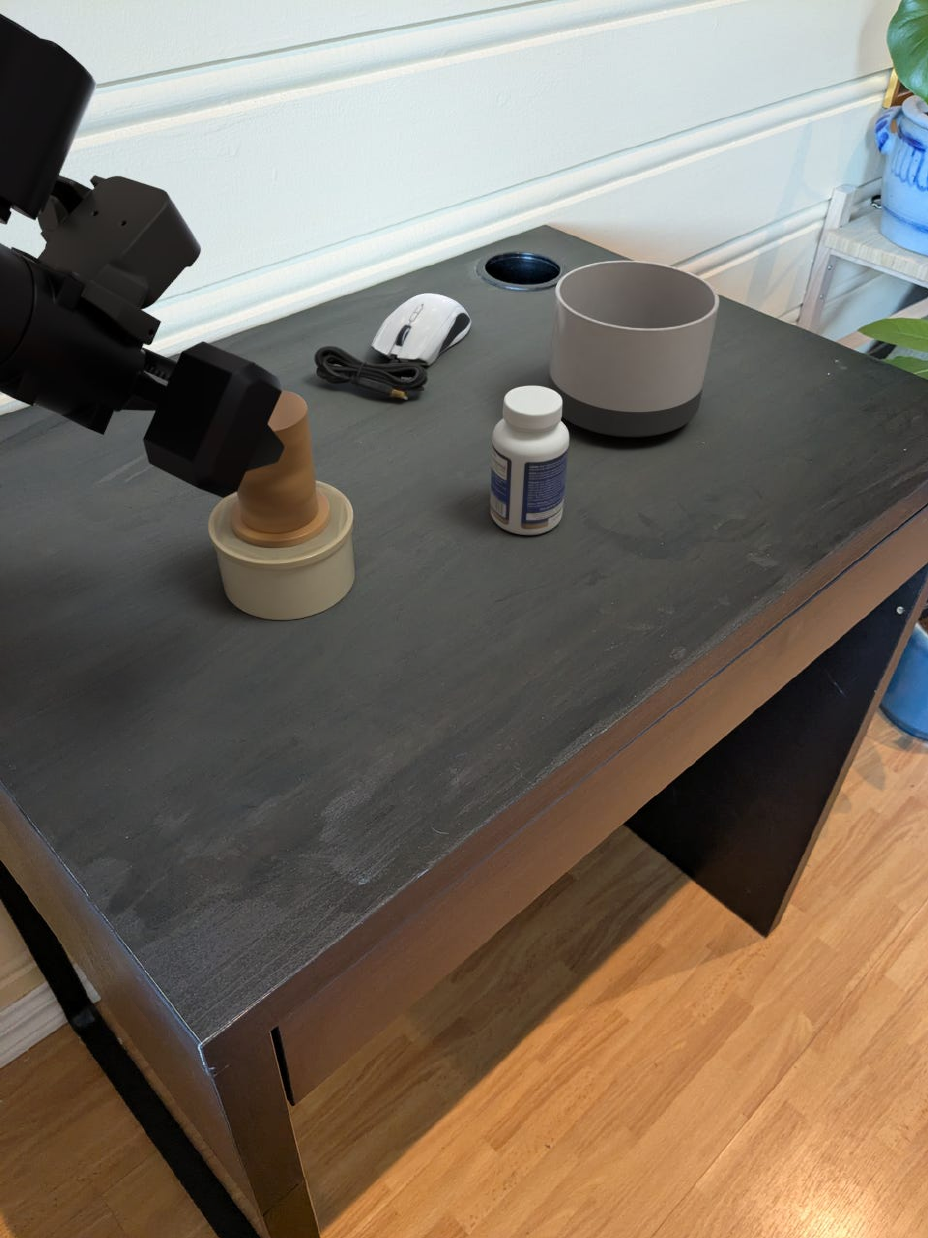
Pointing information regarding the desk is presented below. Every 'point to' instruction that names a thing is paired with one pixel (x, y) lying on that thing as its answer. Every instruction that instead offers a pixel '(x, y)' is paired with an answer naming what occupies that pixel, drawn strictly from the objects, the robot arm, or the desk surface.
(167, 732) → the desk surface
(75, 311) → the robot arm
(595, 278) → the planter
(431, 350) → the computer mouse
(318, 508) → the flanged wooden cylinder
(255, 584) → the cream ceramic pot
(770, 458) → the desk surface
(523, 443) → the pill bottle
